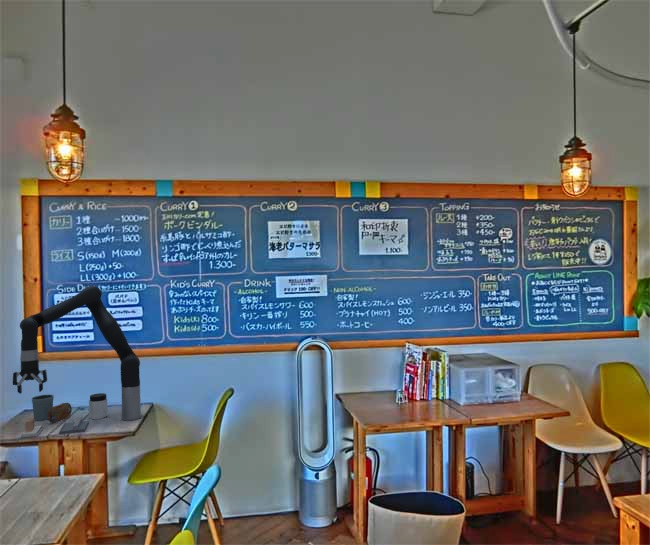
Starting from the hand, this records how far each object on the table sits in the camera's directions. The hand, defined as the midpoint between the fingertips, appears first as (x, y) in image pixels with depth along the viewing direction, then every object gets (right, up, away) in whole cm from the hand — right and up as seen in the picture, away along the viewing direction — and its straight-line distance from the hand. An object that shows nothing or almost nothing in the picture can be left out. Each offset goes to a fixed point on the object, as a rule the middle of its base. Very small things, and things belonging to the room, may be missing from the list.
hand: (30, 392), depth 237 cm
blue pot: (-8, -21, +24) cm, 33 cm away
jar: (+21, -20, +26) cm, 39 cm away
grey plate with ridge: (+18, -20, +6) cm, 28 cm away
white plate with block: (+1, -20, 0) cm, 20 cm away
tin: (+3, -20, +22) cm, 30 cm away
